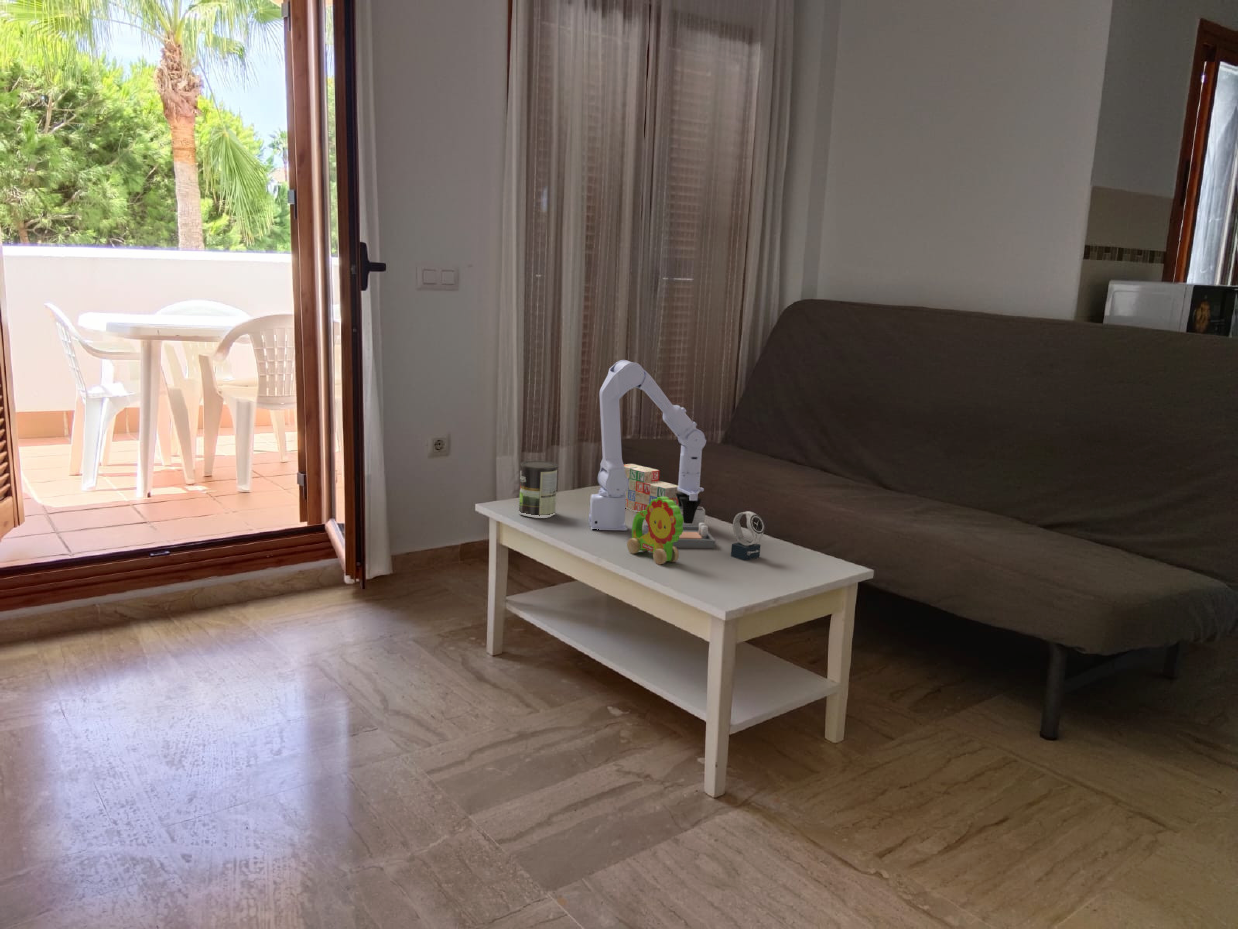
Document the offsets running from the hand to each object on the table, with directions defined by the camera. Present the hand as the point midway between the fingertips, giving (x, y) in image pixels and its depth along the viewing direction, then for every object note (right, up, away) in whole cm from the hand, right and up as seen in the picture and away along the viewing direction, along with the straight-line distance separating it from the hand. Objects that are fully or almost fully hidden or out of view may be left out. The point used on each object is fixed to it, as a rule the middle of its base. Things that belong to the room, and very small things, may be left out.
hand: (686, 521), depth 248 cm
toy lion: (-10, -7, -33) cm, 35 cm away
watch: (+12, -7, -27) cm, 30 cm away
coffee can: (-41, +1, +5) cm, 41 cm away
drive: (0, -1, 0) cm, 1 cm away
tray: (-3, -4, -15) cm, 16 cm away
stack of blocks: (-11, +1, +15) cm, 18 cm away
